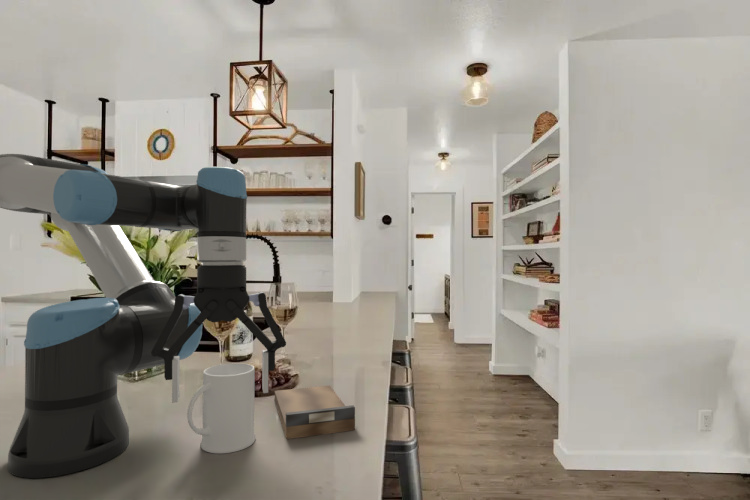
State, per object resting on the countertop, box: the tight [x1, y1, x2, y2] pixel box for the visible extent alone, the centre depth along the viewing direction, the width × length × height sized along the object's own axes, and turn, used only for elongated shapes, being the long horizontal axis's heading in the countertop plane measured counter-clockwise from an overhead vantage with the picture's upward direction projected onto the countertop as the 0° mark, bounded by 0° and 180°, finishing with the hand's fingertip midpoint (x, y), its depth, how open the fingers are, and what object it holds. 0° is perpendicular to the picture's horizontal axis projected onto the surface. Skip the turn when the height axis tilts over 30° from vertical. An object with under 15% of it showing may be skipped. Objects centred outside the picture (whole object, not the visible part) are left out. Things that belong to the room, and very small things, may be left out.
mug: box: [186, 362, 256, 454], centre depth 69 cm, size 12×8×12 cm
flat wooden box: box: [274, 385, 356, 440], centre depth 82 cm, size 12×20×4 cm, turn 19°
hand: (221, 395), depth 69 cm, fingers open, 13 cm apart
